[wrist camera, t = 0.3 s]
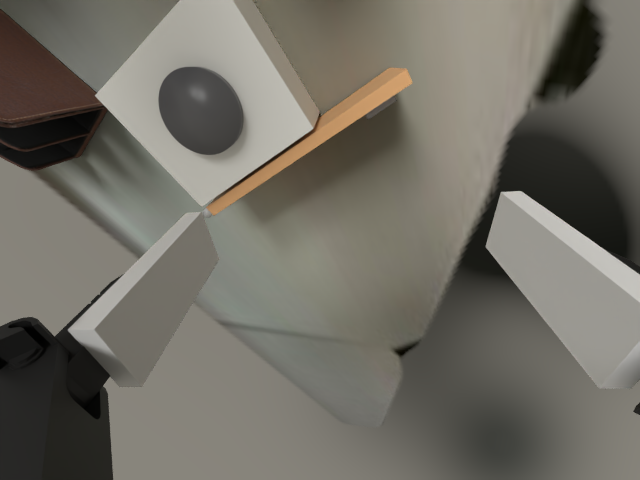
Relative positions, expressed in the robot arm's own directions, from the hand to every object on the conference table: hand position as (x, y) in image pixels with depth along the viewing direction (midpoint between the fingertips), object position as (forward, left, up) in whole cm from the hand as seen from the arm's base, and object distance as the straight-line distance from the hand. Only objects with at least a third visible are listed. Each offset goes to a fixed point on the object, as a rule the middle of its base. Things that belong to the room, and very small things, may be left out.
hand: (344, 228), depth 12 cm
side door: (-1, -5, -25) cm, 25 cm away
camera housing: (-9, -9, -26) cm, 28 cm away
